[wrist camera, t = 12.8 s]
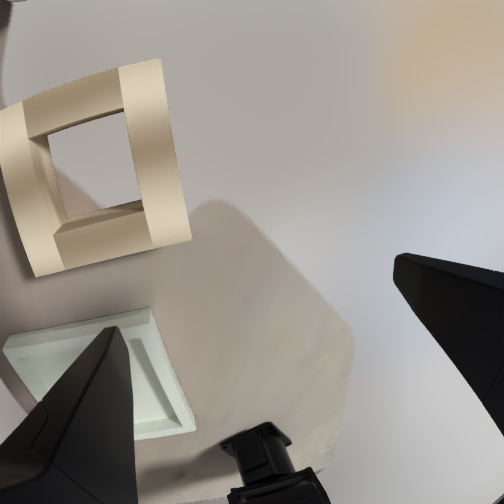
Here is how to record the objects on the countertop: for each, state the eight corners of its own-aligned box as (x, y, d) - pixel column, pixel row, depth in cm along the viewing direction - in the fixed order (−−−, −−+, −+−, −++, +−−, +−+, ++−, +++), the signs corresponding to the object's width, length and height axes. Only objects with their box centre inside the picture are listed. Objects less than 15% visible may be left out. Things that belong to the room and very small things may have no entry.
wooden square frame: (188, 223, 20) (192, 239, 17) (50, 257, 18) (35, 277, 16) (161, 67, 16) (160, 57, 13) (13, 114, 14) (-9, 115, 11)
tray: (193, 414, 27) (196, 430, 25) (76, 430, 25) (74, 445, 23) (150, 306, 22) (149, 323, 20) (9, 334, 19) (2, 349, 18)
